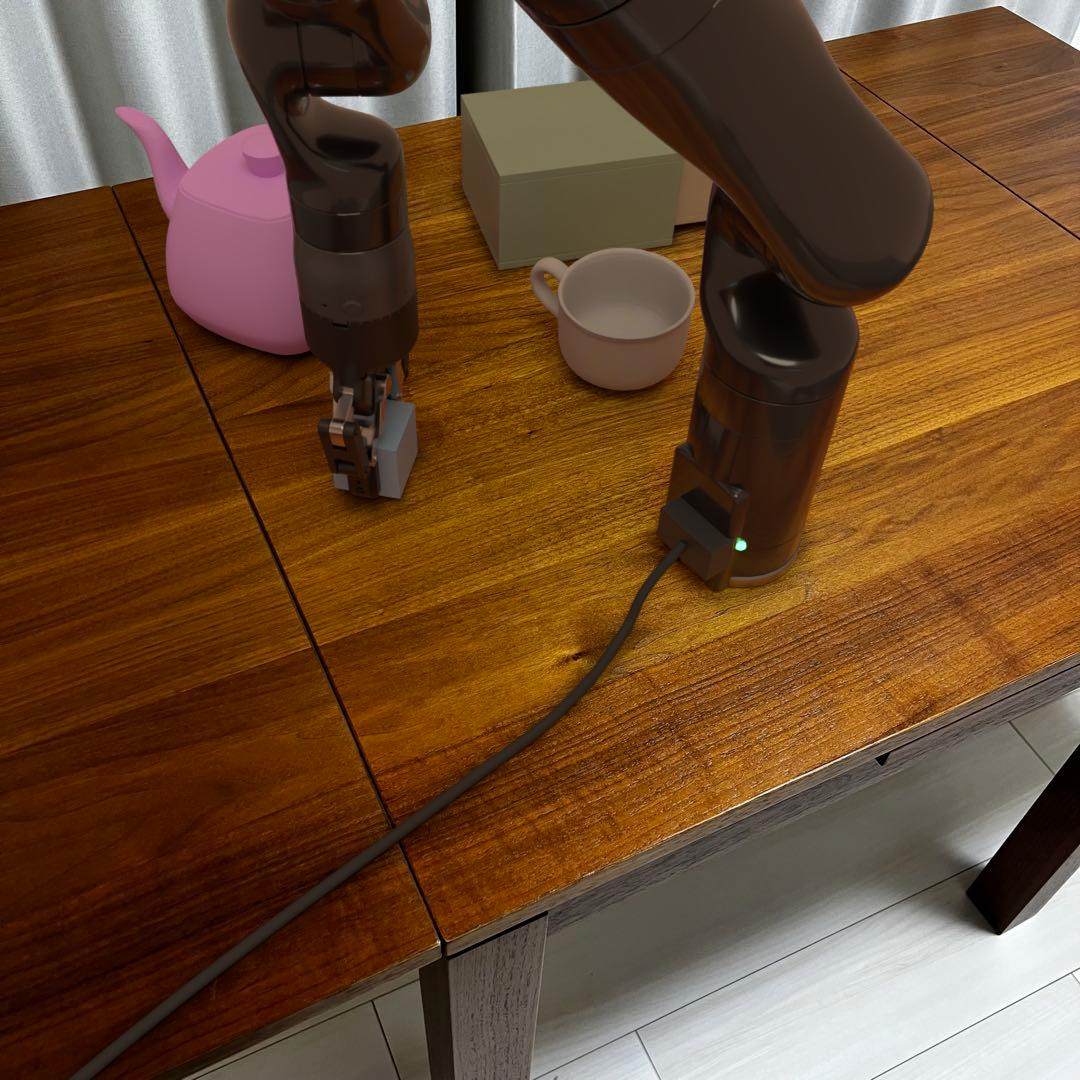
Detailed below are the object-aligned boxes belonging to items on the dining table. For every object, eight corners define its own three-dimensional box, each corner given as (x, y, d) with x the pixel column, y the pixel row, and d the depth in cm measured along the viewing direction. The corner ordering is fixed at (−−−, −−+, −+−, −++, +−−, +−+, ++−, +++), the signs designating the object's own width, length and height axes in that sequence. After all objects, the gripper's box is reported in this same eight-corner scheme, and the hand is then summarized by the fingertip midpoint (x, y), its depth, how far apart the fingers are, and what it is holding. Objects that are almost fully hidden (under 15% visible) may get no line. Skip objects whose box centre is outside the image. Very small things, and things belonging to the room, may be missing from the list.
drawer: (771, 142, 121) (786, 69, 115) (824, 211, 113) (842, 136, 107) (585, 167, 117) (591, 92, 111) (626, 239, 109) (635, 163, 103)
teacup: (709, 366, 99) (724, 288, 93) (625, 430, 94) (634, 351, 88) (584, 292, 105) (590, 214, 99) (498, 348, 100) (499, 269, 94)
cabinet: (624, 166, 119) (633, 74, 111) (672, 245, 110) (685, 151, 103) (462, 187, 115) (460, 94, 108) (498, 270, 107) (499, 175, 99)
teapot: (444, 255, 108) (440, 99, 97) (311, 391, 95) (288, 230, 84) (238, 183, 114) (211, 30, 103) (88, 303, 102) (38, 142, 90)
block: (400, 499, 87) (396, 450, 83) (334, 488, 88) (327, 439, 84) (418, 452, 90) (414, 403, 86) (354, 441, 91) (348, 392, 87)
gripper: (334, 208, 81) (356, 395, 94) (261, 342, 72) (296, 529, 84) (442, 224, 80) (448, 410, 93) (382, 361, 71) (399, 547, 84)
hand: (376, 466), depth 89 cm, fingers closed on block, 5 cm apart
